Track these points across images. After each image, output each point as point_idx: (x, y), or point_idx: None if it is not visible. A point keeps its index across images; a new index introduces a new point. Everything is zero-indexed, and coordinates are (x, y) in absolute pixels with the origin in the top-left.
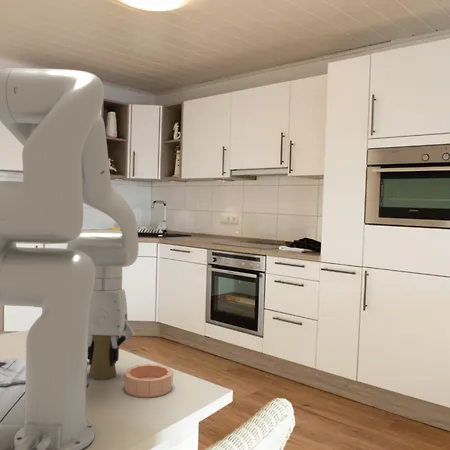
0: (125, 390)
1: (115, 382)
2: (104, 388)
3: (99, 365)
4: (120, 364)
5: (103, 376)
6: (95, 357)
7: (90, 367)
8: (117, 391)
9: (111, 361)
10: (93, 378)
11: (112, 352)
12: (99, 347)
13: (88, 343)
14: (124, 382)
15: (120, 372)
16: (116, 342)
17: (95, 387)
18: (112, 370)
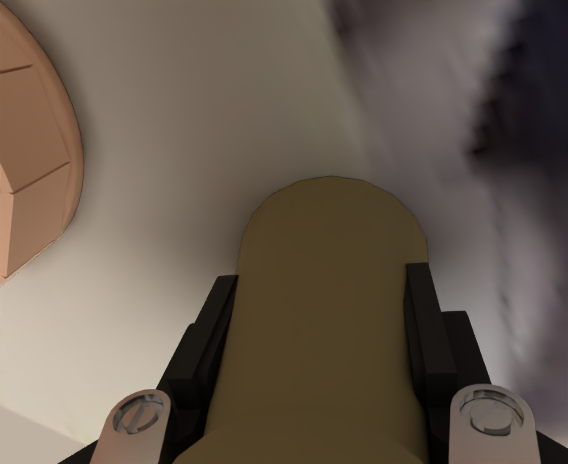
0: (11, 19)
1: (180, 164)
2: (189, 28)
3: (309, 237)
4: None
5: (281, 198)
6: (357, 285)
7: (413, 252)
8: (69, 2)
9: (216, 294)
10: (359, 181)
11: (181, 351)
12: (310, 369)
13: (493, 425)
14: (6, 53)
15: None
16: (97, 453)
17: (265, 24)
18: (236, 266)
